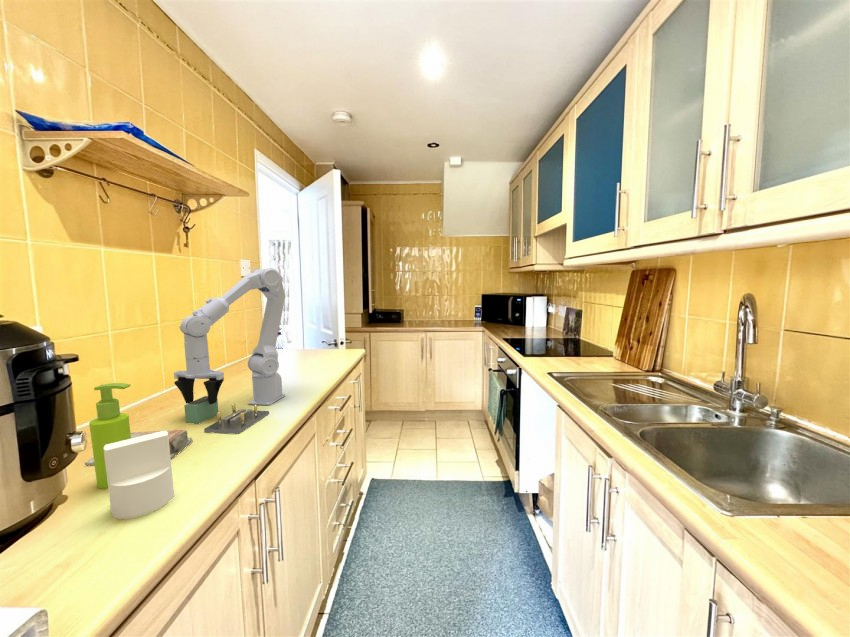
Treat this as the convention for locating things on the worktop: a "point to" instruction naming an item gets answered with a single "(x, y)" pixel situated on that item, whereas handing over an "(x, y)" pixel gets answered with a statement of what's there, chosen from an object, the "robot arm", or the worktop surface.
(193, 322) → the robot arm
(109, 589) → the worktop surface
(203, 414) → the block
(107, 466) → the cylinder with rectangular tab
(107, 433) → the soap dispenser
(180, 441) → the packaged product
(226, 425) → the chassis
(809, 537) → the worktop surface
